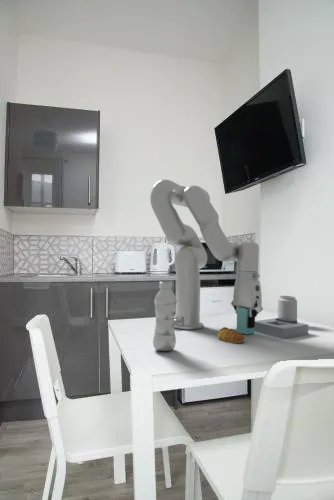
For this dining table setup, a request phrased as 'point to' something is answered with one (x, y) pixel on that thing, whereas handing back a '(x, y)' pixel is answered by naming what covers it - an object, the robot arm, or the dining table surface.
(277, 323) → the grey recessed tray
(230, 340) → the pastry
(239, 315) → the block
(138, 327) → the dining table surface
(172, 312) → the plastic bottle
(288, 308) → the can
